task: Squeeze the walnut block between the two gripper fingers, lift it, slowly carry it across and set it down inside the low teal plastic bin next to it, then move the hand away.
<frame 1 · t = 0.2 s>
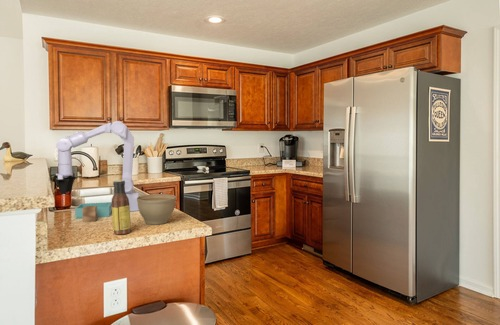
hand: (66, 192, 162), 10 cm above the countertop, tool pointing down, fingers open, 7 cm apart
sauce bottle: (121, 233, 129), on the countertop
planter bowl: (157, 222, 146), on the countertop
teal bin: (94, 214, 160), on the countertop
walnut block: (90, 220, 149), on the countertop
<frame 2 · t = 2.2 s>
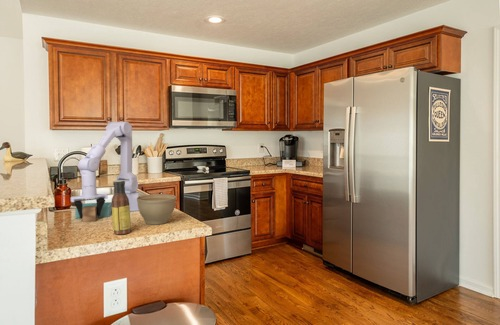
hand: (90, 216, 149), 2 cm above the countertop, tool pointing down, fingers closed on walnut block, 6 cm apart
walnut block: (90, 220, 149), on the countertop, touching gripper
everything else where it was.
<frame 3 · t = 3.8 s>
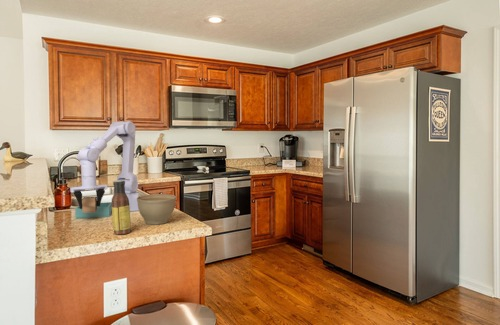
hand: (89, 207, 149), 6 cm above the countertop, tool pointing down, fingers closed on walnut block, 6 cm apart
walnut block: (90, 211, 149), point 4 cm above the countertop, touching gripper
everything else where it was.
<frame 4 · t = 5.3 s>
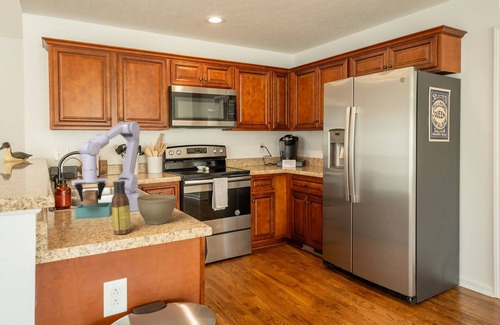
hand: (90, 200, 151), 8 cm above the countertop, tool pointing down, fingers closed on walnut block, 6 cm apart
walnut block: (90, 204, 151), point 7 cm above the countertop, touching gripper
everything else where it was.
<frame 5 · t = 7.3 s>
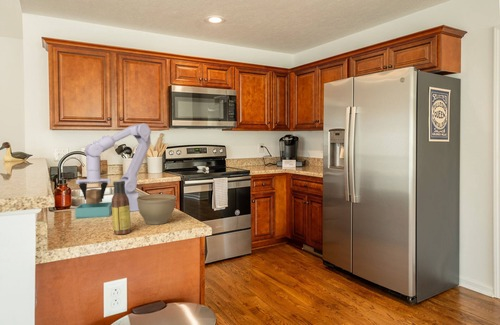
hand: (94, 198, 160), 7 cm above the countertop, tool pointing down, fingers closed on walnut block, 6 cm apart
walnut block: (94, 202, 160), point 6 cm above the countertop, touching gripper
everything else where it was.
when the fingers open (4 cm above the countertop, at t = 8.7 s): walnut block drops 2 cm, resting on teal bin.
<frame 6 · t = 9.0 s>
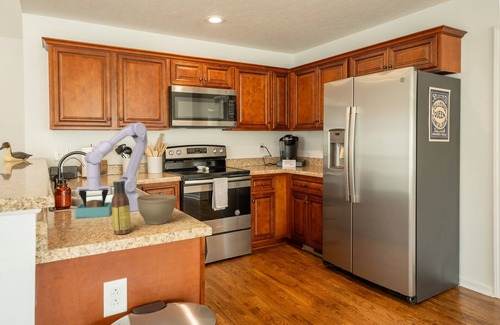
hand: (94, 206, 160), 4 cm above the countertop, tool pointing down, fingers open, 7 cm apart
walnut block: (94, 213, 160), point 1 cm above the countertop, touching teal bin
everything else where it was.
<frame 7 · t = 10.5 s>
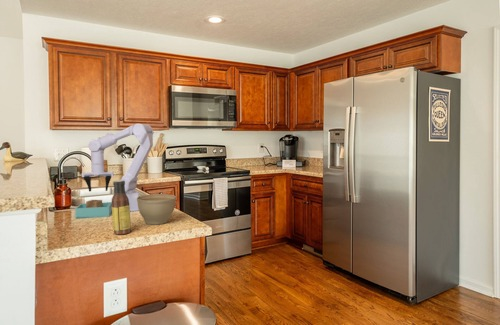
hand: (98, 190, 172), 9 cm above the countertop, tool pointing down, fingers open, 7 cm apart
nothing on the countertop moved.
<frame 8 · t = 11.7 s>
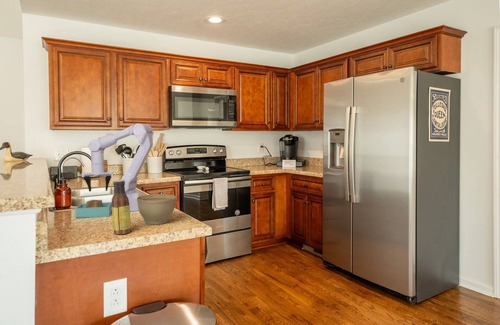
hand: (98, 190, 172), 9 cm above the countertop, tool pointing down, fingers open, 7 cm apart
nothing on the countertop moved.
at the end: walnut block inside the target area on the teal bin (0.1 cm from its centre), point 0.6 cm above the teal bin's base; walnut block tilted 0°; the gripper is holding nothing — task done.
